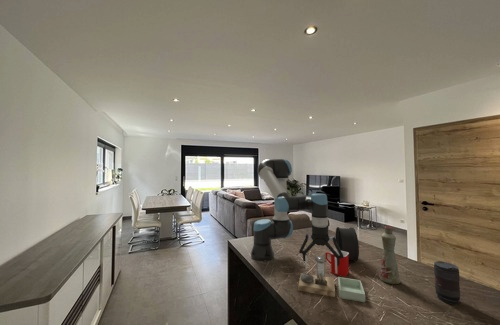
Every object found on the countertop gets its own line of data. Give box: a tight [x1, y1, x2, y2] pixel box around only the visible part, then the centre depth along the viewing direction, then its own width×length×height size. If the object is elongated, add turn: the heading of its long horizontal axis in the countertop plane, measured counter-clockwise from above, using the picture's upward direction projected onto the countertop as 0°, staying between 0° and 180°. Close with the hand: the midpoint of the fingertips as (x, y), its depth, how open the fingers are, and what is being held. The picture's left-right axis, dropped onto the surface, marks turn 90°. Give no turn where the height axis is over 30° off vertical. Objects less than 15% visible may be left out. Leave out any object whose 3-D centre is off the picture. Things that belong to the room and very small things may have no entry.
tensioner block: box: [298, 272, 336, 298], centre depth 100 cm, size 16×12×4 cm
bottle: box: [378, 225, 401, 285], centre depth 106 cm, size 9×9×28 cm
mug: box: [325, 249, 350, 278], centre depth 116 cm, size 12×8×11 cm
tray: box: [337, 276, 366, 303], centre depth 95 cm, size 10×12×4 cm
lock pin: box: [314, 255, 327, 286], centre depth 100 cm, size 5×5×14 cm
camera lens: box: [433, 260, 461, 305], centre depth 90 cm, size 8×8×15 cm
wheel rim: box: [335, 226, 360, 262], centre depth 132 cm, size 20×9×20 cm, turn 168°
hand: (321, 270), depth 100 cm, fingers open, 13 cm apart
